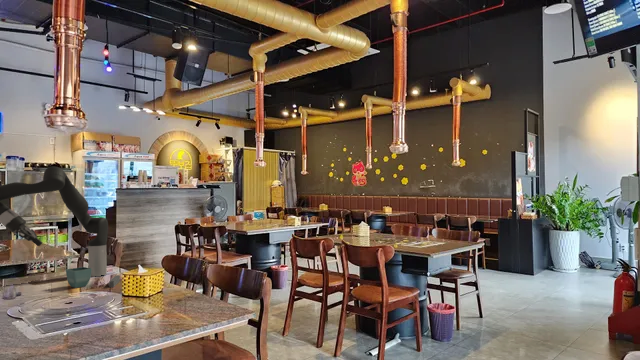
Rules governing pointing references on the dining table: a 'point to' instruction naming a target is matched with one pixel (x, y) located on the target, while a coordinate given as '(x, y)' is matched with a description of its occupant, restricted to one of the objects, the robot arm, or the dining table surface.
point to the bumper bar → (114, 281)
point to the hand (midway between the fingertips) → (40, 244)
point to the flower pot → (78, 276)
